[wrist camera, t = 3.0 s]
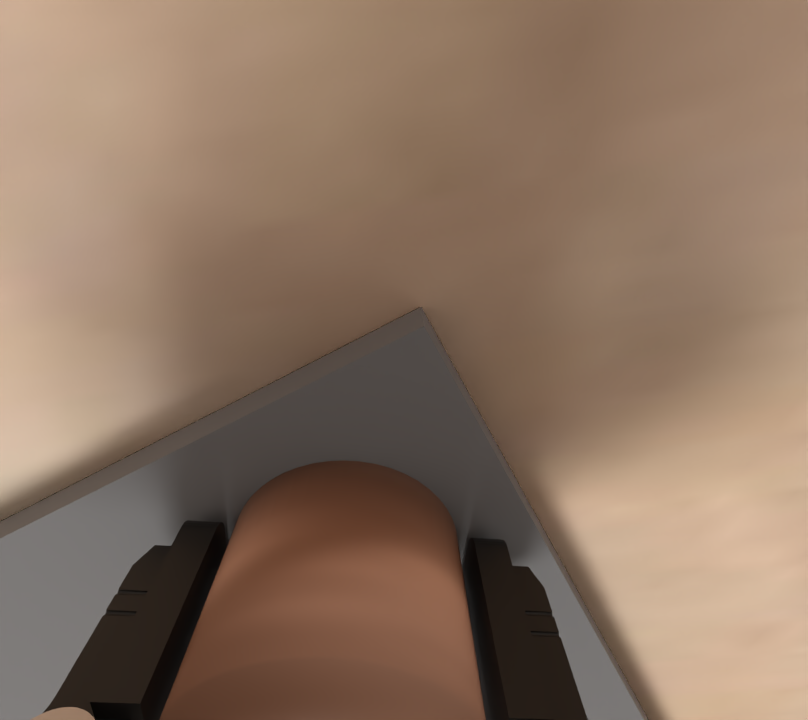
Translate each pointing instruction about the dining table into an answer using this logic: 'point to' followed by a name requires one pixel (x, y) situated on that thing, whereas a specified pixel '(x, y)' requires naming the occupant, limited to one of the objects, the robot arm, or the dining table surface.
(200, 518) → the mat
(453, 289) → the dining table surface
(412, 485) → the terracotta cylinder
